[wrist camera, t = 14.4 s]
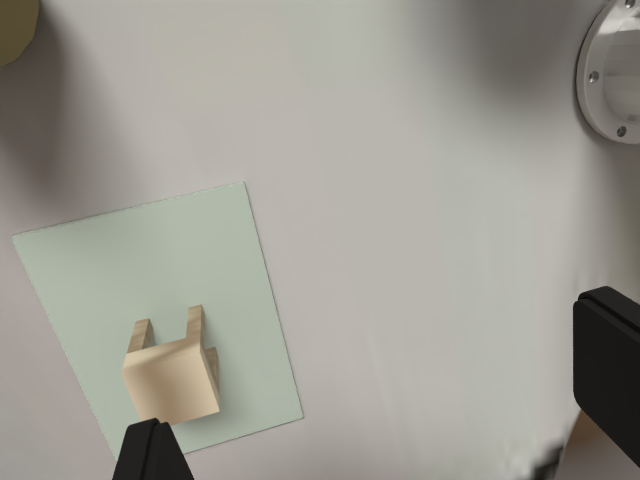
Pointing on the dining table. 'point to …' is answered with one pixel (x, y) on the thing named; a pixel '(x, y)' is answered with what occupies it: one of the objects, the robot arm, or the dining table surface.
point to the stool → (172, 373)
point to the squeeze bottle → (16, 27)
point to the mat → (166, 306)
